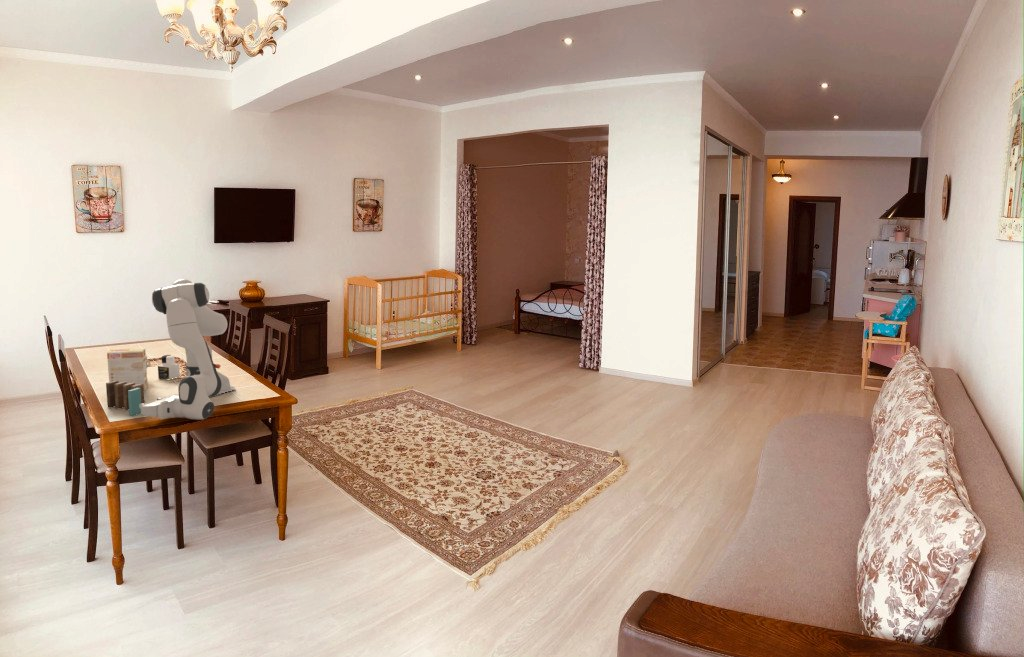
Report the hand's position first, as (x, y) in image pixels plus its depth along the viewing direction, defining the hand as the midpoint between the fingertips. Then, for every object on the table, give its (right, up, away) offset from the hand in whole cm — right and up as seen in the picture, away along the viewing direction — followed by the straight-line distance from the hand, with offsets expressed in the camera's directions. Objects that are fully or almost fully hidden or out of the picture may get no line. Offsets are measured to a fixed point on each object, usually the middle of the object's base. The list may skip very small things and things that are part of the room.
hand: (149, 402), depth 281 cm
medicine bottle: (-24, +5, +64) cm, 69 cm away
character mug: (-34, +4, +55) cm, 65 cm away
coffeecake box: (-31, +1, +39) cm, 50 cm away
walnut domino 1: (-19, -3, +12) cm, 22 cm away
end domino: (-23, -3, +13) cm, 27 cm away
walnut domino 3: (-10, -4, +10) cm, 15 cm away
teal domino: (-7, -5, +3) cm, 9 cm away
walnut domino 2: (-14, -4, +11) cm, 18 cm away
